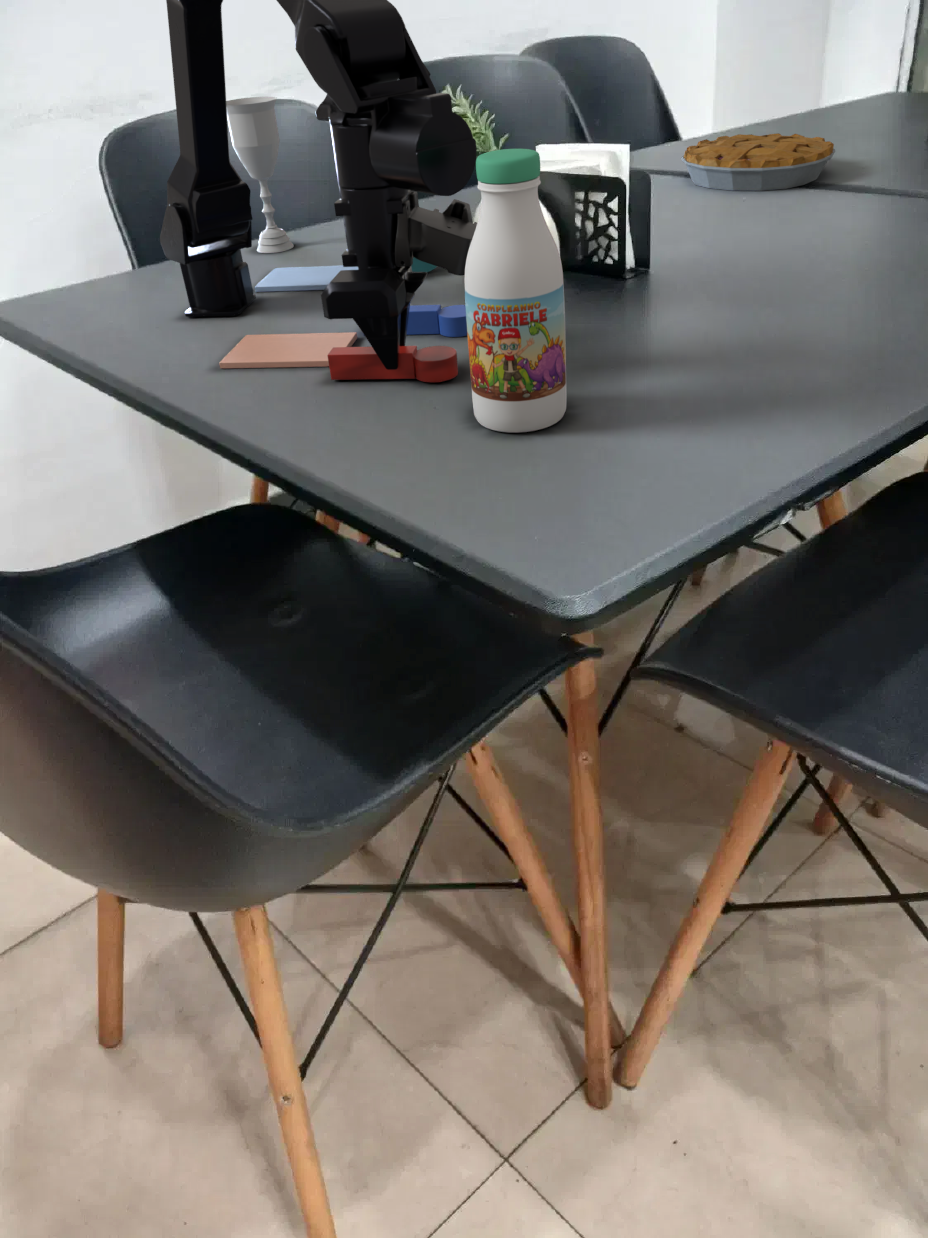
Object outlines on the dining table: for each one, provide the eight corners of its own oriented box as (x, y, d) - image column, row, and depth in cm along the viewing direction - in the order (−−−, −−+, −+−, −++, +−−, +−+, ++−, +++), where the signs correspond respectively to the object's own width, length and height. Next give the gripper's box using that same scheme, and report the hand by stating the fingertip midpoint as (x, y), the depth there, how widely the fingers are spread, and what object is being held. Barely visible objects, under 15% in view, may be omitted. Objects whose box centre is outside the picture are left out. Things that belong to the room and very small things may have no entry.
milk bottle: (469, 402, 84) (449, 149, 72) (558, 393, 84) (552, 138, 72) (478, 440, 77) (457, 168, 66) (574, 429, 78) (570, 157, 66)
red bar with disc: (328, 384, 89) (324, 358, 88) (339, 367, 93) (335, 343, 91) (454, 382, 87) (452, 356, 86) (461, 365, 91) (459, 340, 89)
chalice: (239, 254, 132) (209, 105, 122) (265, 240, 137) (238, 97, 127) (285, 255, 129) (258, 104, 119) (310, 241, 134) (287, 95, 124)
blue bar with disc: (361, 339, 99) (357, 315, 98) (370, 326, 103) (367, 303, 101) (474, 336, 97) (473, 312, 96) (480, 323, 101) (478, 300, 99)
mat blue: (255, 291, 116) (254, 286, 116) (275, 272, 123) (275, 267, 123) (351, 288, 114) (350, 283, 114) (367, 269, 121) (366, 264, 120)
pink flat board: (220, 368, 96) (218, 362, 95) (247, 340, 102) (246, 334, 102) (337, 366, 94) (336, 360, 93) (357, 337, 100) (356, 331, 100)
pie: (805, 196, 133) (810, 157, 131) (657, 189, 144) (658, 152, 141) (850, 164, 148) (855, 127, 145) (712, 159, 158) (714, 125, 156)
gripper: (449, 204, 71) (465, 404, 80) (484, 154, 86) (494, 327, 95) (304, 210, 73) (336, 405, 82) (363, 161, 88) (384, 330, 97)
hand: (395, 364), depth 89 cm, fingers closed on red bar with disc, 2 cm apart
